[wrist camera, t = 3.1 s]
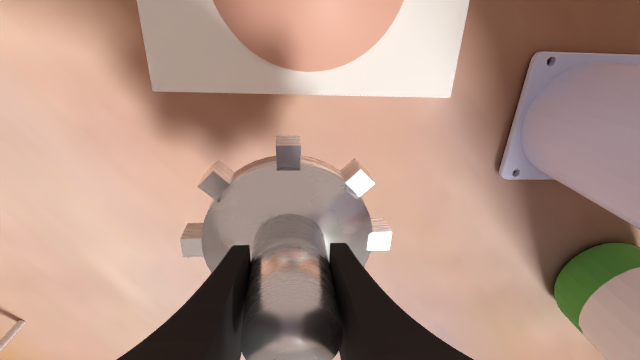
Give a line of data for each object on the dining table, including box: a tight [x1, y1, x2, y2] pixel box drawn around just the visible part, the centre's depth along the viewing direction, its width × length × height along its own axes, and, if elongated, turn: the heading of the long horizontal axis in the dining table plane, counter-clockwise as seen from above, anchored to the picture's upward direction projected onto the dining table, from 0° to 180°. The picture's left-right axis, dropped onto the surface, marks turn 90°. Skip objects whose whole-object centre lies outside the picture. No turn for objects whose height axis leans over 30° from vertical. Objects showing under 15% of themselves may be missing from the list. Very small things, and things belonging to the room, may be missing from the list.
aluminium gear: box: [180, 136, 391, 360], centre depth 12 cm, size 9×9×6 cm
